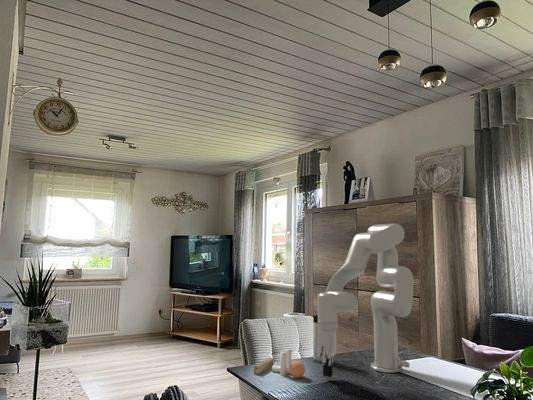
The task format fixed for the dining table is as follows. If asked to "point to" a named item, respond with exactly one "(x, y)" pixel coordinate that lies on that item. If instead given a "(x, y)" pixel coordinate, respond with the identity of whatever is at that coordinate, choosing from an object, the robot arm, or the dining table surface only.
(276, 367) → the front pin
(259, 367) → the wooden bar
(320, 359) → the travel mug
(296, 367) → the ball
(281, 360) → the pin
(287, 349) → the pin
